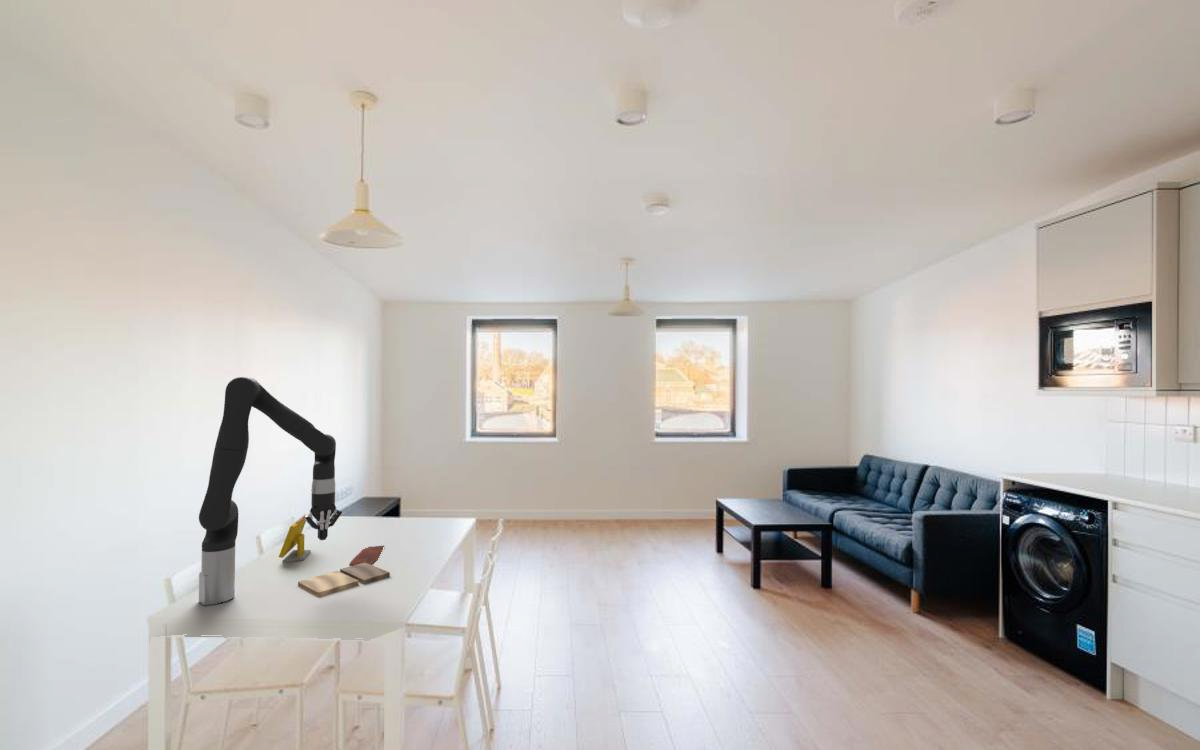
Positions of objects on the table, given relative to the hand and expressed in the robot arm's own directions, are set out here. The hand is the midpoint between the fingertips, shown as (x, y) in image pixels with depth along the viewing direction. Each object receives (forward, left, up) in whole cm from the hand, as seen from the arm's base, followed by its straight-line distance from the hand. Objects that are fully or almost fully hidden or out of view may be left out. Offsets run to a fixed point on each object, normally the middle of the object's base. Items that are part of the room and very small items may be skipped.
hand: (322, 539), depth 191 cm
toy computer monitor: (+9, +42, -17) cm, 46 cm away
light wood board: (+2, 0, -17) cm, 17 cm away
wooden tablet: (+29, +21, -18) cm, 40 cm away
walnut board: (+16, 0, -17) cm, 23 cm away
